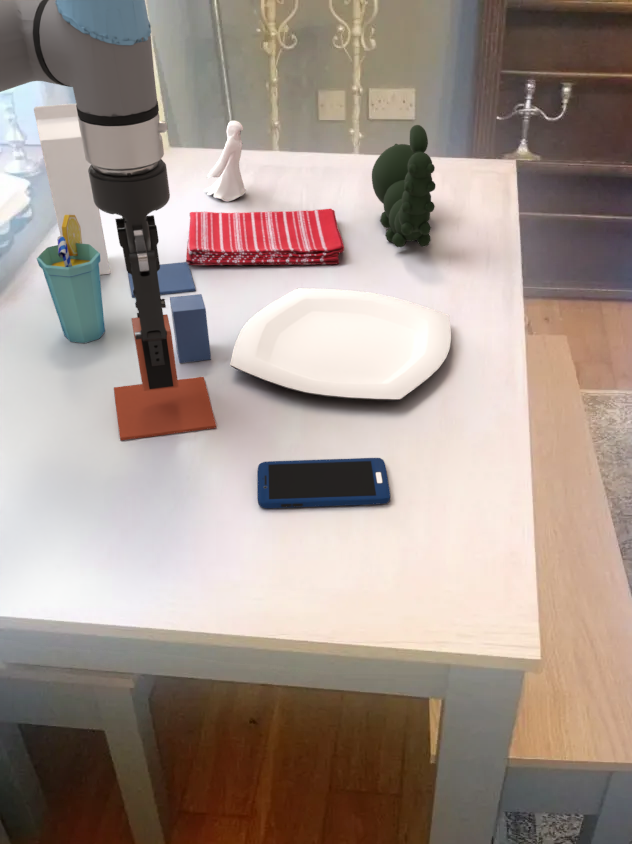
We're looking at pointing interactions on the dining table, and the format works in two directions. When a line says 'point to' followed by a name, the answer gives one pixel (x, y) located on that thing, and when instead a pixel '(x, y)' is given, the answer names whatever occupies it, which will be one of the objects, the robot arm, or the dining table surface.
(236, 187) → the figurine
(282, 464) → the cell phone
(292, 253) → the dish towel
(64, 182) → the milk
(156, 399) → the terracotta mat
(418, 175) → the toy figurine
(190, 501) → the dining table surface
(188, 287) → the blue mat
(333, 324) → the plate
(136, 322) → the terracotta block
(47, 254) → the cup
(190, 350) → the blue block
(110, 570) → the dining table surface
